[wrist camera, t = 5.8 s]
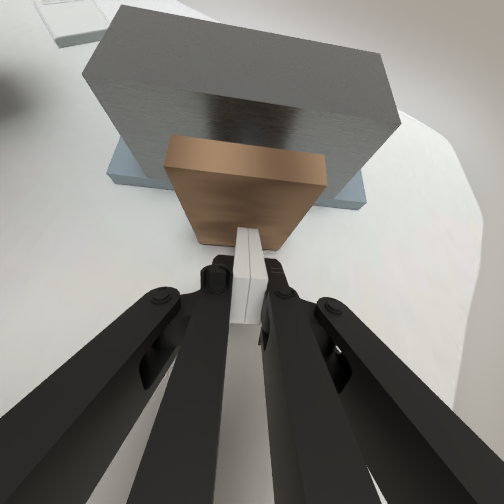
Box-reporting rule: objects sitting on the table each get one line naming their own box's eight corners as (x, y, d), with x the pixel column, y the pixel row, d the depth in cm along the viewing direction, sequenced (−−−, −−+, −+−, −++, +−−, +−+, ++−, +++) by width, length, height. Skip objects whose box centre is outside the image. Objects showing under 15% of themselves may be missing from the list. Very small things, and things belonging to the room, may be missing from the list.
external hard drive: (63, 54, 26) (37, 8, 28) (120, 42, 28) (92, 1, 30) (52, 37, 24) (26, -9, 27) (114, 27, 26) (84, -16, 29)
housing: (115, 183, 19) (4, 61, 10) (136, 124, 22) (66, -14, 13) (358, 209, 22) (454, 132, 12) (348, 153, 25) (421, 55, 15)
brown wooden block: (199, 243, 18) (163, 166, 8) (213, 154, 21) (199, 30, 12) (278, 250, 18) (327, 185, 9) (278, 162, 22) (313, 51, 13)
